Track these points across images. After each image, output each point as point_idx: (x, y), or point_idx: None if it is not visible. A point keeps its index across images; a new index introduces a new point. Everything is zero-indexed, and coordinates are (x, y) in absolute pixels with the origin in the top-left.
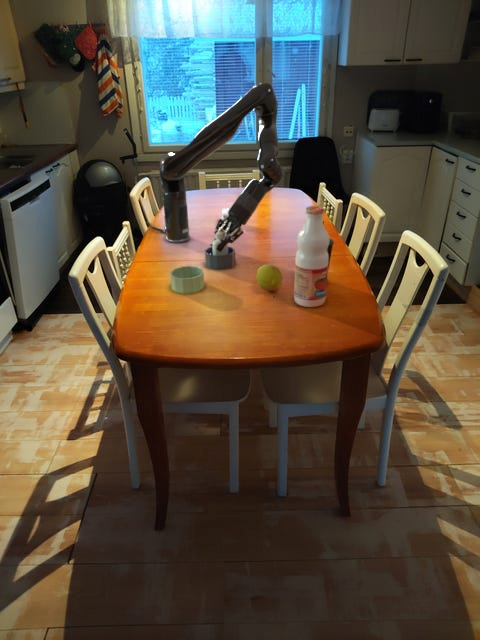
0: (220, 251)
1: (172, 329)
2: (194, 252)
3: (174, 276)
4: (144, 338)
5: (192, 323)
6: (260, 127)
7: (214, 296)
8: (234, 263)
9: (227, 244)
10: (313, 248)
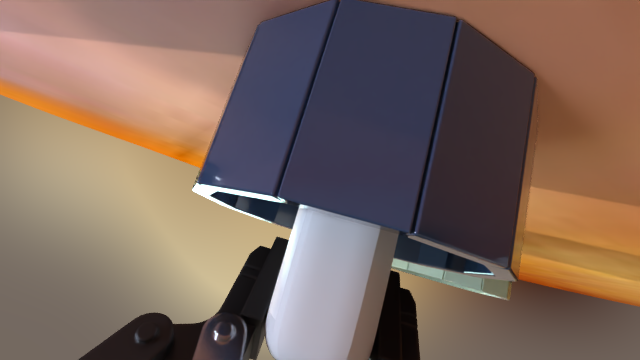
0: (397, 274)
1: (562, 281)
2: (54, 49)
3: (430, 279)
4: (525, 277)
5: (601, 285)
6: None
7: (605, 261)
8: (535, 110)
9: (367, 320)
10: None
